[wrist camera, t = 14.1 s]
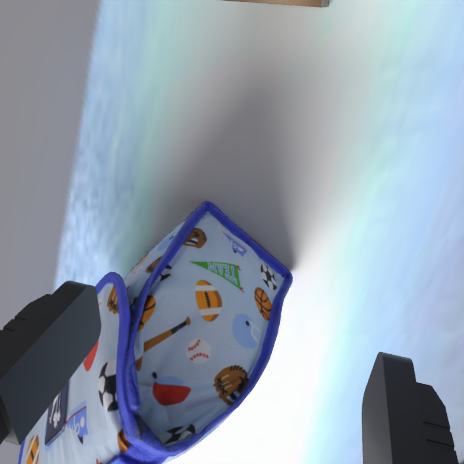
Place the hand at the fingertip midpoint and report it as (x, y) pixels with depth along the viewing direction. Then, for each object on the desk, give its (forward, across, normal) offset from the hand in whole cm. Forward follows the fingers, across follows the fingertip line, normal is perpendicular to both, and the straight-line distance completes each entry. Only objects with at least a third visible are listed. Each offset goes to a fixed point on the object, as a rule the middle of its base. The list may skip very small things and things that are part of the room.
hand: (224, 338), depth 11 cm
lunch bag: (+30, +11, +23) cm, 40 cm away
